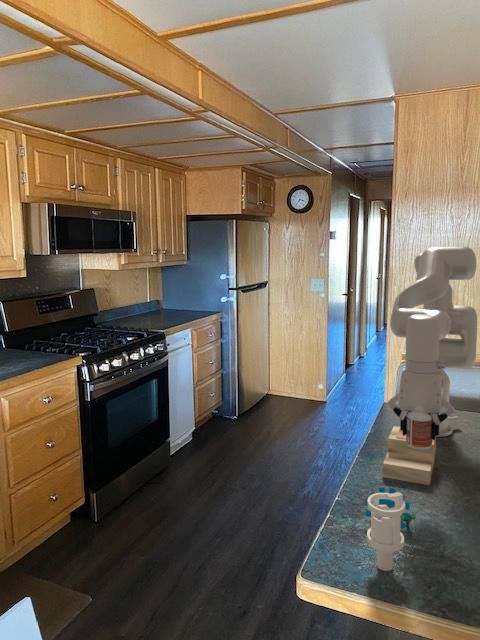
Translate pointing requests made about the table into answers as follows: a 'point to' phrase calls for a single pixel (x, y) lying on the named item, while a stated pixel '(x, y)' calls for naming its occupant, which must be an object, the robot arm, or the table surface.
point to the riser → (408, 460)
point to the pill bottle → (419, 429)
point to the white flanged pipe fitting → (385, 528)
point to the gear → (404, 517)
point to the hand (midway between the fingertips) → (419, 434)
